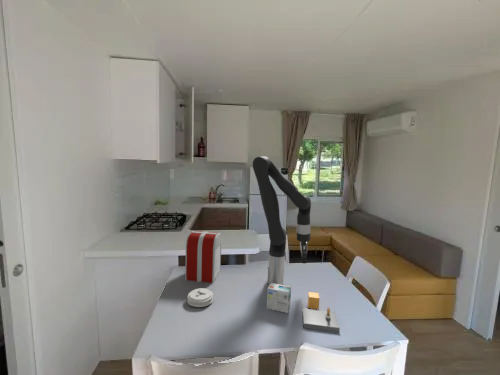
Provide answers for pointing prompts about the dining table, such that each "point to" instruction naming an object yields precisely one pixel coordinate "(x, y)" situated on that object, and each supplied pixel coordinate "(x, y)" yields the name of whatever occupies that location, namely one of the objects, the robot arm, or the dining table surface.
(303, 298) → the dining table surface
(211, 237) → the red striped box
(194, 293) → the lid
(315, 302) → the orange block
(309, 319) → the plate
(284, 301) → the light bulb box
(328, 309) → the pigtail
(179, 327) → the dining table surface
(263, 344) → the dining table surface
